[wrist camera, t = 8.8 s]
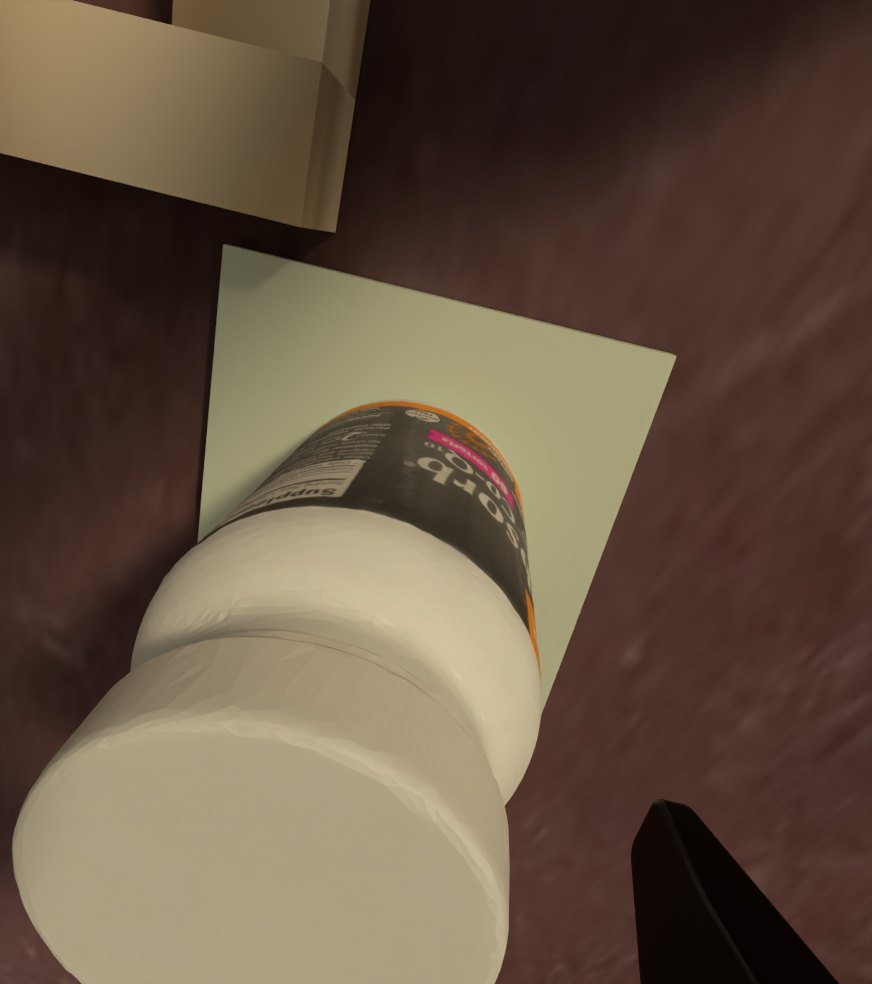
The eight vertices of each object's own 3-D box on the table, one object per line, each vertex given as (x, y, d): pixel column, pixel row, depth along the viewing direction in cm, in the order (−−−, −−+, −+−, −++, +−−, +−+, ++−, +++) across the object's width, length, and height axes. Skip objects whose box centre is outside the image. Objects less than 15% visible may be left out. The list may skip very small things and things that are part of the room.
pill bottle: (565, 544, 15) (691, 1028, 5) (375, 641, 16) (222, 1150, 7) (439, 343, 13) (319, 540, 4) (243, 471, 15) (-176, 830, 5)
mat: (671, 353, 13) (676, 356, 13) (540, 703, 17) (542, 713, 17) (230, 244, 13) (223, 244, 13) (196, 618, 17) (190, 625, 17)
